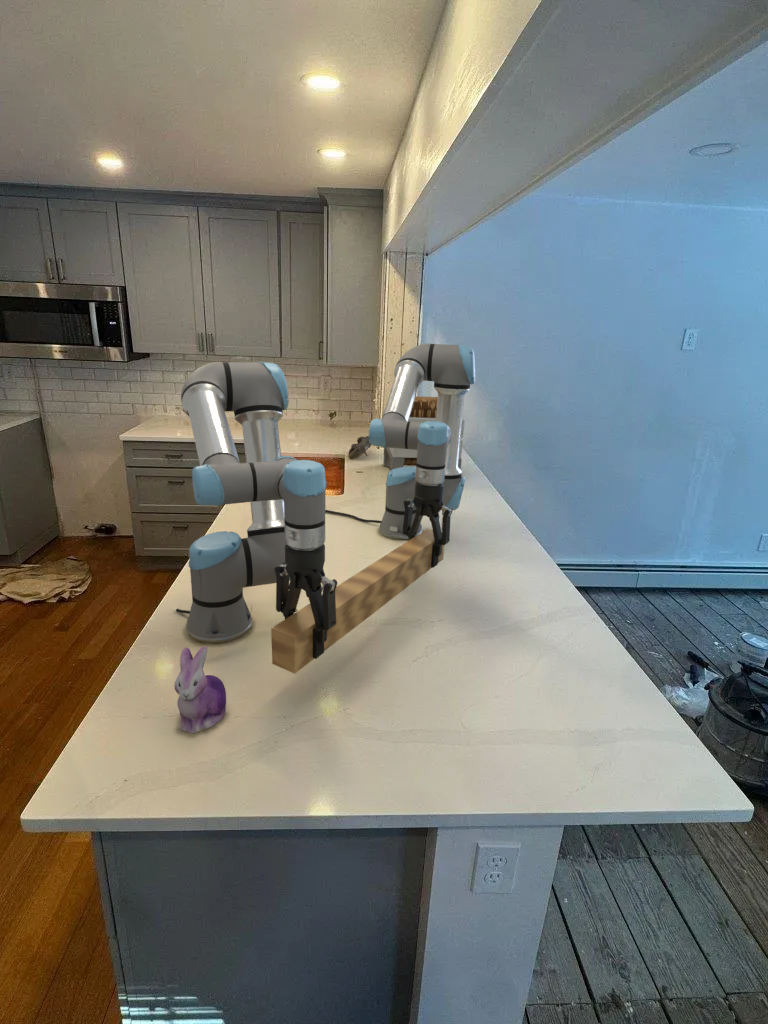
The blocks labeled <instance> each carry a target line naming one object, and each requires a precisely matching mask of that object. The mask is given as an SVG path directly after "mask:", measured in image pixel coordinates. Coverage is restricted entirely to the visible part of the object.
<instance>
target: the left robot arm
mask: <svg viewBox="0 0 768 1024" xmlns="http://www.w3.org/2000/svg"><path fill="white" fill-rule="evenodd" d="M180 401H181V402H180V403H181V407H182V410H183V412H184V413H185V415H186V416H188V417H189V421H190V424H191V430H192V436H193V440H194V443H195V448H196V454H197V457H198V463H199V465H197V466H194V467H193V468H192V470H191V476H192V477H191V481H192V490H193V497H194V501H195V503H196V504H197V505H199V506H218V507H219V506H224V505H235V504H242V503H243V504H244V503H250V510H251V518H252V519H251V521H252V522H251V524H250V526H249V527H248V528H247V530H246V534H247V537H244V538H243V537H242V538H241V536H240V535H239V533H237V532H235V531H227V530H223V531H215V532H211V533H207V534H205V535H202V536H201V537H199V538H198V539H196V540H194V541H193V542H192V543H191V545H190V547H189V549H188V567H189V571H190V586H191V599H192V600H191V601H192V602H191V606H190V610H188V609H187V610H185V609H179V608H176V609H175V611H176V612H177V613H181V614H188V617H187V619H186V625H185V626H186V634H187V636H188V638H190V639H191V640H193V641H195V642H197V643H201V644H206V645H220V644H227V643H231V642H234V641H237V640H239V639H241V638H243V637H245V636H246V635H247V634H248V633H249V632H250V631H251V630H252V626H253V618H252V611H253V605H251V606H250V609H249V607H248V604H247V602H246V600H245V598H244V588H250V587H257V586H265V585H272V584H276V585H275V587H276V588H275V589H276V590H275V610H276V612H278V613H281V614H282V616H283V617H284V620H285V619H286V618H288V617H290V616H291V615H293V614H294V613H296V612H297V611H298V609H297V607H298V603H299V600H300V596H301V593H302V590H303V591H304V593H305V595H306V597H307V598H308V600H309V604H311V608H312V612H313V617H314V621H315V625H316V627H315V628H314V629H313V658H315V659H314V660H317V659H318V658H319V657H320V656H323V654H325V651H324V642H326V640H327V630H329V629H330V628H332V627H333V626H334V625H336V602H335V590H336V587H337V586H338V581H337V579H335V578H333V579H330V578H328V577H327V576H326V573H325V570H324V565H325V563H326V545H325V543H326V512H325V510H326V494H327V493H326V492H327V491H326V489H327V479H326V468H325V466H324V465H323V463H320V462H319V461H315V460H309V459H300V460H299V459H297V458H295V457H294V456H291V455H282V452H281V451H282V450H281V449H282V448H281V442H280V432H279V424H278V423H279V422H280V420H281V419H282V418H283V417H284V412H283V411H285V410H287V409H288V407H289V401H290V400H289V389H288V384H287V380H286V377H285V374H284V371H283V370H282V368H281V367H280V366H279V365H278V364H277V363H275V362H263V361H249V362H247V361H233V362H232V361H214V362H209V363H206V364H203V365H202V366H200V367H198V368H196V369H195V370H194V371H193V372H192V373H191V374H190V375H189V376H188V377H187V378H186V380H185V382H184V383H183V386H182V388H181V393H180ZM226 412H233V414H234V420H235V421H236V423H239V424H240V426H241V427H242V437H243V446H244V455H245V462H240V458H239V455H238V452H237V448H236V444H235V442H234V438H233V435H232V431H231V428H230V425H229V422H228V418H227V415H226Z"/></svg>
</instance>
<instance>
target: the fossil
mask: <svg viewBox="0 0 768 1024" xmlns="http://www.w3.org/2000/svg"><path fill="white" fill-rule="evenodd" d="M356 442H357V443H352V444H351V446H350V449H349V450H348V455H347V457H348V459H349V460H354V459H357V458H360V457H361V456H362V455H365V456H368V454H367V450H368V449H369V448H371V446H372V445H371V443H370V441H369V435H366V436H359V437H357V439H356Z"/></svg>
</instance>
